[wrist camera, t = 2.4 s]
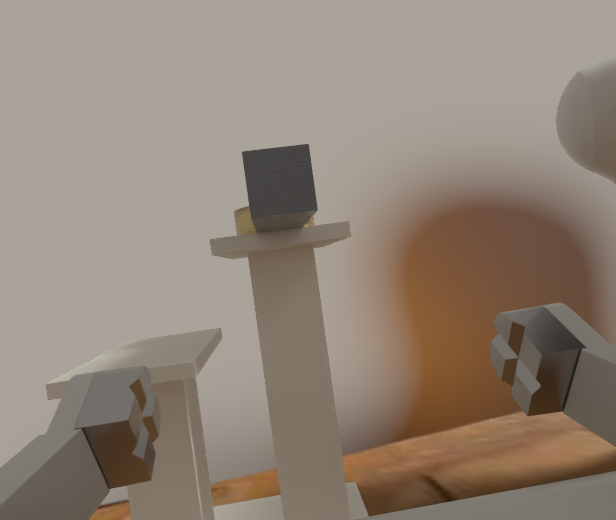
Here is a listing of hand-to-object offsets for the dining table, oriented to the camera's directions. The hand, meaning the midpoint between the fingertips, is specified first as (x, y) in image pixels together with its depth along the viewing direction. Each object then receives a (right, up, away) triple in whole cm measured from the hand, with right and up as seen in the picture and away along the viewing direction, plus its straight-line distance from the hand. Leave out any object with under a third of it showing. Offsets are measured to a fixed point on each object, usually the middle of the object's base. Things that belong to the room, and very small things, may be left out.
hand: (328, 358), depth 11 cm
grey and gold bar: (-2, +4, +22) cm, 23 cm away
